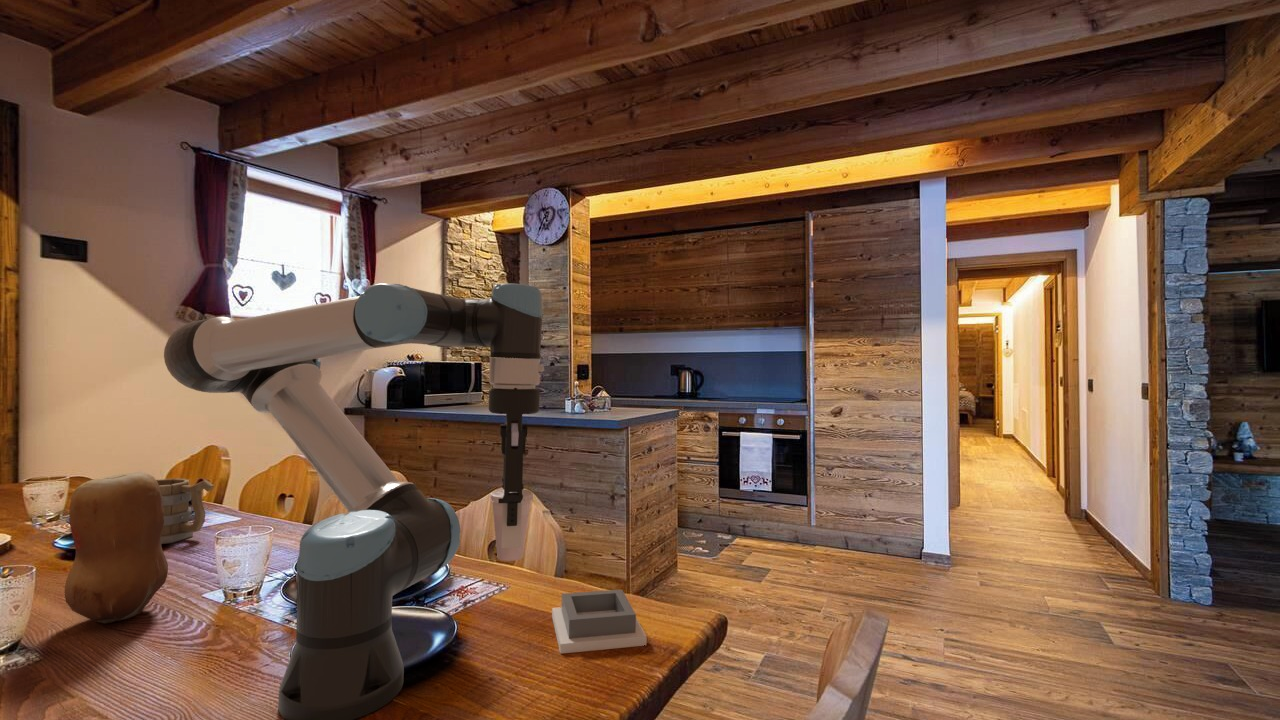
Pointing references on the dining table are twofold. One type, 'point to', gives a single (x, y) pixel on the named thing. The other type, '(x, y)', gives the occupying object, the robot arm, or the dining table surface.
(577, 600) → the holder
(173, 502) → the tankard
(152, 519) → the butternut squash
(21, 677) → the dining table surface
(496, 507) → the smoothie
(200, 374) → the robot arm
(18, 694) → the dining table surface
